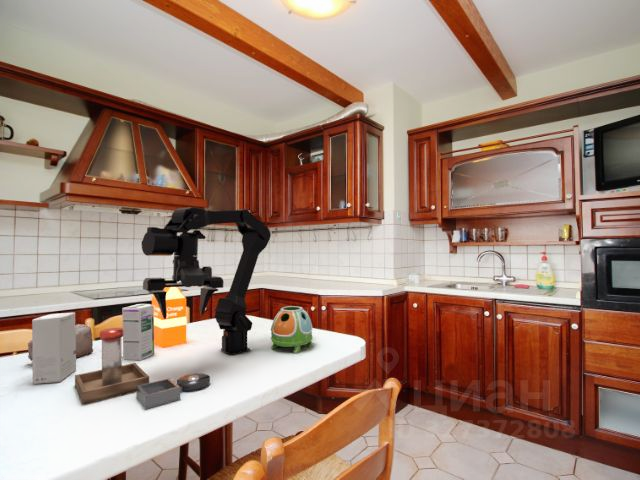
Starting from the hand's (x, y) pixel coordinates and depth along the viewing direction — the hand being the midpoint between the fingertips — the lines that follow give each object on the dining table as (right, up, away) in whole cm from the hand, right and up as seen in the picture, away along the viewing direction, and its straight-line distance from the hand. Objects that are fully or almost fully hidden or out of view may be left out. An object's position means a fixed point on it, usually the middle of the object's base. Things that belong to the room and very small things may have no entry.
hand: (183, 317), depth 90 cm
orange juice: (-13, -14, +23) cm, 30 cm away
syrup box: (-16, -13, +9) cm, 22 cm away
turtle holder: (+27, -13, +19) cm, 35 cm away
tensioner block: (+4, -13, -15) cm, 20 cm away
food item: (-36, -14, +7) cm, 40 cm away
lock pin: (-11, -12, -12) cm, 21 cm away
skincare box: (-28, -13, -6) cm, 32 cm away
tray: (-11, -13, -12) cm, 21 cm away
